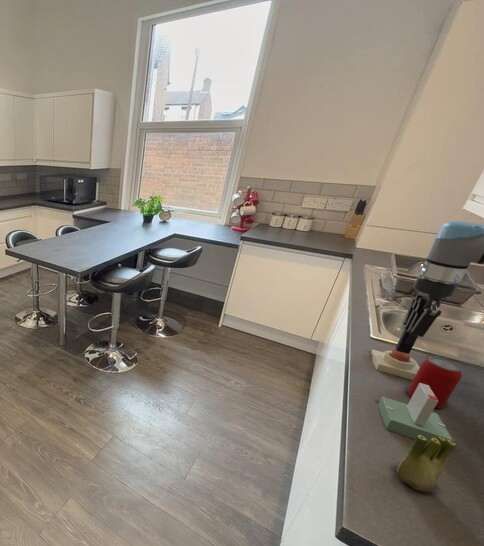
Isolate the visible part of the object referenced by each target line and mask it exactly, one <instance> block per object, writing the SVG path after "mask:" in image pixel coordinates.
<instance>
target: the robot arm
mask: <svg viewBox="0 0 484 546" xmlns="http://www.w3.org/2000/svg"><path fill="white" fill-rule="evenodd" d="M472 263H473V264H478V265H484V224H482V223H474V222H469V221H457V220H455V221H454V220H452V221H447V222H445V223H444V224H443V225H442V227H441V228H440V230H439V232H438V233H437V235H436V237H435V239H434V241H433V244H432V246H431V248H430V250H429V253H428V255H427V256H426V259H425V262H424V264H420V268H421V269H420V272H419V274H420V275H418V276H417V277H416V279H415V282H414V284H413V286H412V287H413V289H414V290H416V291H418V293H416V292H415V293H414V292H413V294H412V295H411V300H410V304H409V305H408V309H407V311H406V315H405V318H404V320H403V322H402V325H403V329H404V330H403V332H402V333H401V336H400V338H399V340H398V342H397V344H396V346H395V348H394V350H396V351H399V352H403V353H407V354H409V355H410V353H411V351H412V349H413V347H414V345H415V344H416V342H417V340H418V337H420V338H423V337H424V336H425V335H426V333H427V332H428V331H429V329H430V328H431V326H432V325H433V323H434V322H435V321H436V320H437V318H438V317H440V316H441V314H442V310H438V308H439V307H440V306H441V305H442V304H441V303H442V302H441V301H442V298H451V297H453V296H454V295H455V292H456V291H457V289H458V287H459V284H458V283H461V282H462V281H463V278H464V276H465V274H466V273H467V271H468V269H469V266H470V264H472Z"/></svg>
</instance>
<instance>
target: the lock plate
mask: <svg viewBox="0 0 484 546" xmlns="http://www.w3.org/2000/svg"><path fill="white" fill-rule="evenodd" d="M407 405H408V403H404V402H401V401H399V400H395V399H391V398H388V397H385V396H381V397H380V400H379V401H378V404H377V407H378V410H379V413H380V415H381V418H382V422H383V423H384V427H385V429H386V431H387V430H388V431H391V432H393V433H396V434H399V435H401V436H404V437H408V438H411V439H413V440H416V438H417V436H418V435H422V436H423V437H425V438H426V439H427V442H426V444H427V443H428V442H429V441H430V440H431V439H432V438H436V439H437V437H438V436H440V437H442V438H445V440H451V441H453V438H452V437H451V434H450V433H449V431H448V430H447V426H446V425H445V424H444V423H443V420H442V419H441V417H440V416H439V415H438V413H436V412H434V411H432V413H431V415H430V416H429V418H428V420H427V421H426V423H425V425H424V426H421V425H418V424H415V423H414V422H413V420H412V417H411V415H410V413H409V411H408V409H407ZM453 442H454V441H453Z"/></svg>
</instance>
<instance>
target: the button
mask: <svg viewBox="0 0 484 546" xmlns="http://www.w3.org/2000/svg"><path fill="white" fill-rule="evenodd" d="M391 351H392V352H391V355H390V356H391V357H393V358H394V359H397V360H399V361H403V362H409V360H410V358H412V356H411V354H410V353H409V354H407V353H403V352H399V351H396V349H392V350H391Z"/></svg>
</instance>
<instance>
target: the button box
mask: <svg viewBox="0 0 484 546" xmlns="http://www.w3.org/2000/svg"><path fill="white" fill-rule="evenodd" d="M391 352H392V350H387V349H386V350H384V351H381V350H376V349H372V350H371V352H370V354H369V356H370V358H371V360H372V364H373V365H374V368H375V370H376V371H379V372H383V373H387V374H389V375H394V376H398V377H401V378H405V379H408V380H412V381H413V379H414V377H415V376H416V374H417V372H418V370H419V368H420V366H419V364H418V363H417V361H416V360H415V359H414V358H413V357H411V358H410V360H409V362H403V361H399V360H397V359H394V358H393V357H391V356H390V355H391Z"/></svg>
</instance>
